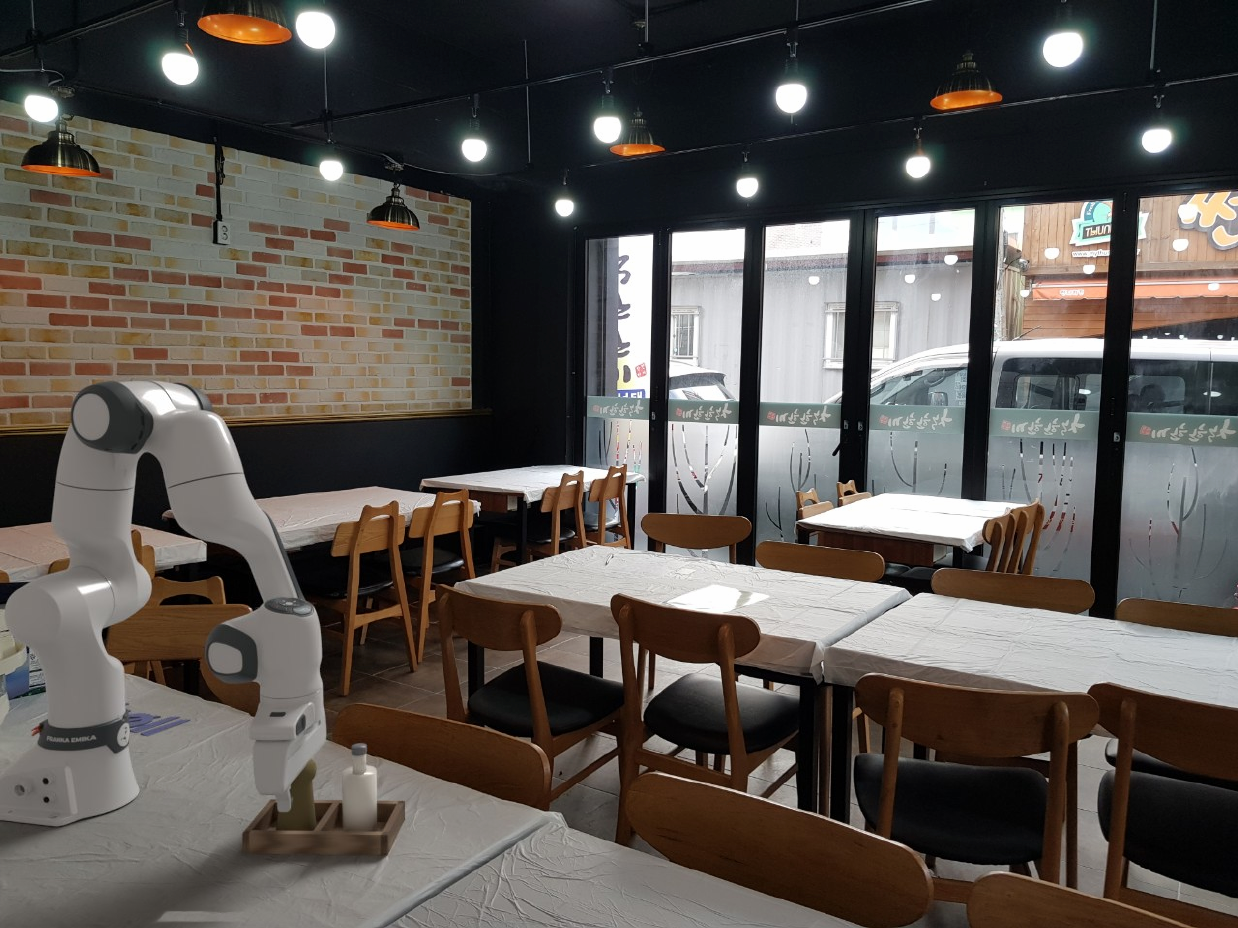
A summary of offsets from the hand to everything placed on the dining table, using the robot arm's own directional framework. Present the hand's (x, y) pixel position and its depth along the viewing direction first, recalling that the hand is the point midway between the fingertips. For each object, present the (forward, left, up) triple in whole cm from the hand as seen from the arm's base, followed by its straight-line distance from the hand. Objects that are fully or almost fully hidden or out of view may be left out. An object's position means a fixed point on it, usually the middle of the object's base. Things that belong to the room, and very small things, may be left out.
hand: (295, 797), depth 138 cm
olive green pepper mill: (0, 0, -6) cm, 6 cm away
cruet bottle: (+10, 0, -6) cm, 11 cm away
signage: (-53, +51, -8) cm, 74 cm away
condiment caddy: (+5, 0, -7) cm, 8 cm away
